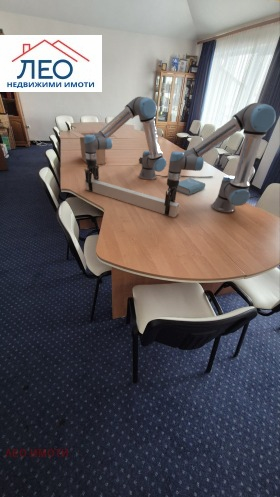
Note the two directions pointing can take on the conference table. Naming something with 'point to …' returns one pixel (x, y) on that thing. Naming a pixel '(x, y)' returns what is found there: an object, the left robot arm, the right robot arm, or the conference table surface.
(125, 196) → the beam
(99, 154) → the box
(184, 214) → the conference table surface
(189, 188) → the book
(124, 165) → the conference table surface
